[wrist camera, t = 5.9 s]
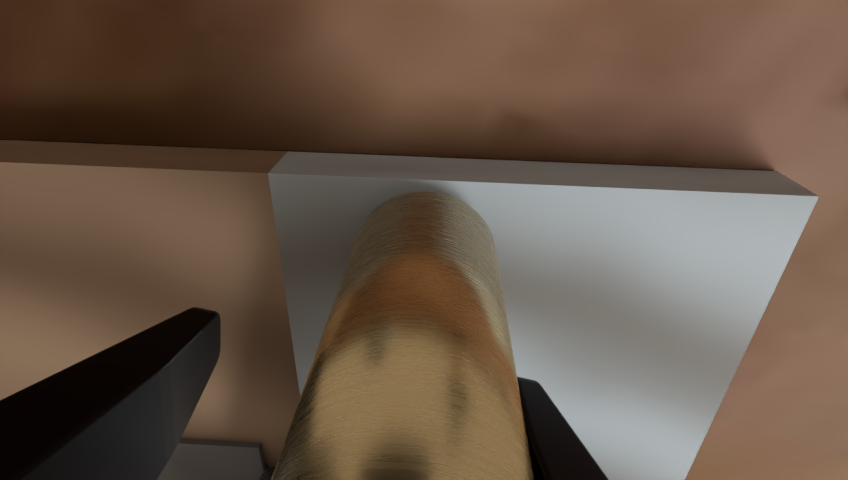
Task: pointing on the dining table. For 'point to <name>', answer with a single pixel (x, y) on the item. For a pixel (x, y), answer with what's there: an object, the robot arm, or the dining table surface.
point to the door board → (328, 257)
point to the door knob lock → (413, 358)
